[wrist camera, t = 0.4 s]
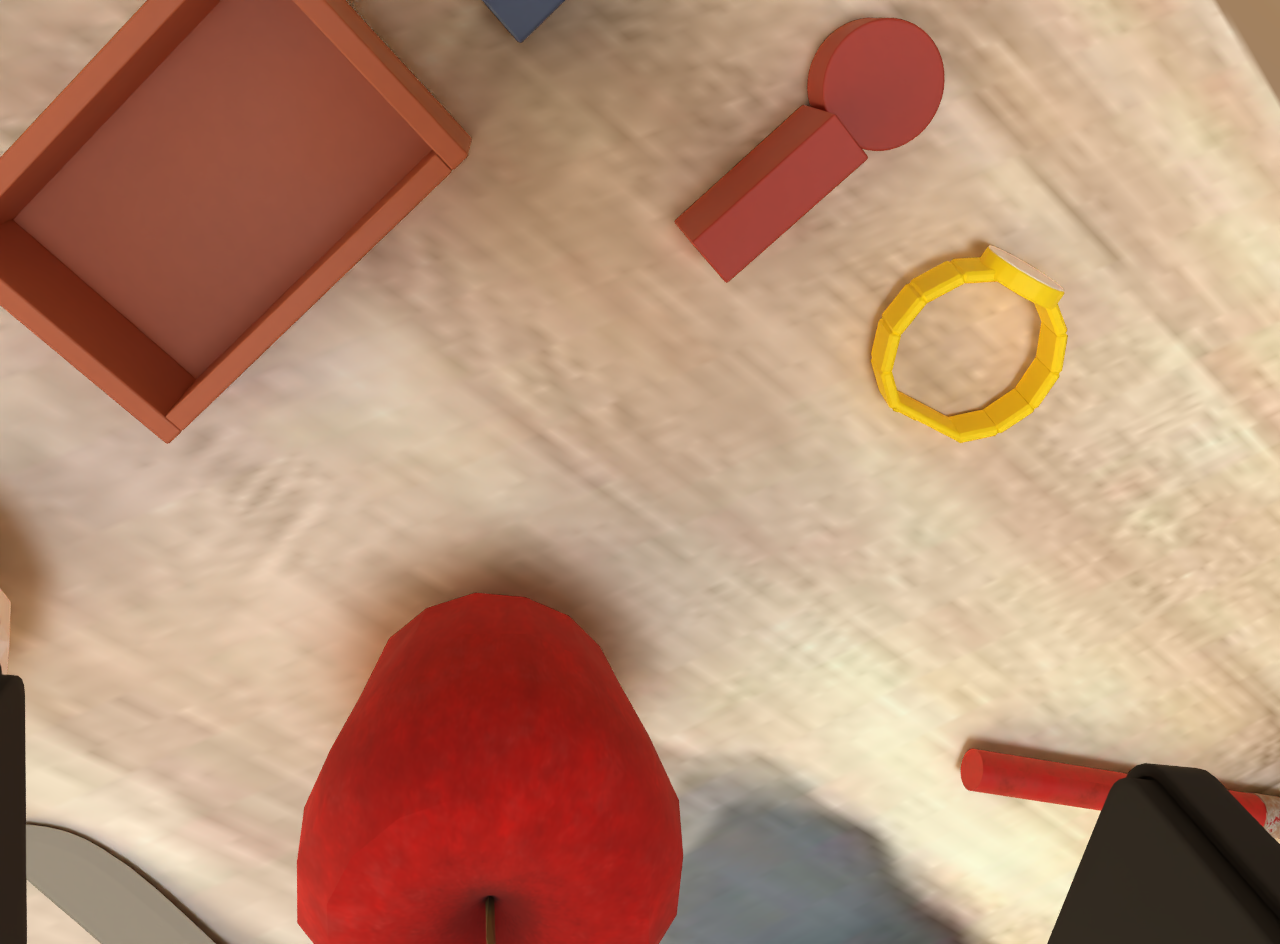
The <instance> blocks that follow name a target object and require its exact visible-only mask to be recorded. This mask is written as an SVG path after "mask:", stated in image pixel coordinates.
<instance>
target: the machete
mask: <svg viewBox="0 0 1280 944" xmlns="http://www.w3.org/2000/svg"><path fill="white" fill-rule="evenodd" d="M26 879H27V880H28V881H29V882H30V883H31V884H33V885H34V886H35V887H36V888H37V889H38V890H39V891H41V892H42V893H43V894H44V895H45V896H46V897H48V898H49V899H50V900H51V901H52V902H53V903H54V904H56V905H57V906H58V907H59V908H60V909H62V910H63V911H64V912H65V913H66V914H67V915H69V916H70V917H71V918H72V919H73V920H75V921H76V922H77V923H78V924H79V925H80V926H81V927H83V928H84V929H85V930H86V931H87V932H88V933H90V934H91V935H92V936H93V937H94V938H95V939H96V940H98V941H99V942H100V943H101V944H216V943H215V942H213V941H212V940H211V939H210V938H209V937H208V936H207V935H206V934H205V933H204V932H203V931H202V930H201V929H200V928H199V927H197V926H196V925H195V924H194V923H193V922H192V921H191V920H190V919H189V918H188V917H187V916H186V915H185V914H184V913H183V912H181V911H180V910H179V909H178V908H177V907H176V906H175V905H174V904H173V903H172V902H170V901H169V900H168V899H167V898H166V897H165V896H164V895H163V894H162V893H160V892H159V891H158V890H157V889H156V888H155V887H154V886H152V885H151V884H150V883H149V882H148V881H146V880H145V879H144V878H143V877H141V876H140V875H139V874H138V873H136V872H135V871H134V870H133V869H132V868H130V867H129V866H128V865H126V864H125V863H123V862H122V861H120V860H119V859H117V858H116V857H114V856H113V855H111V854H110V853H108V852H107V851H105V850H104V849H102V848H101V847H99V846H97V845H95V844H93V843H92V842H90V841H88V840H86V839H84V838H82V837H79V836H77V835H74V834H72V833H69V832H67V831H63V830H59V829H54V828H50V827H46V826H37V825H28V824H26Z"/></svg>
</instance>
